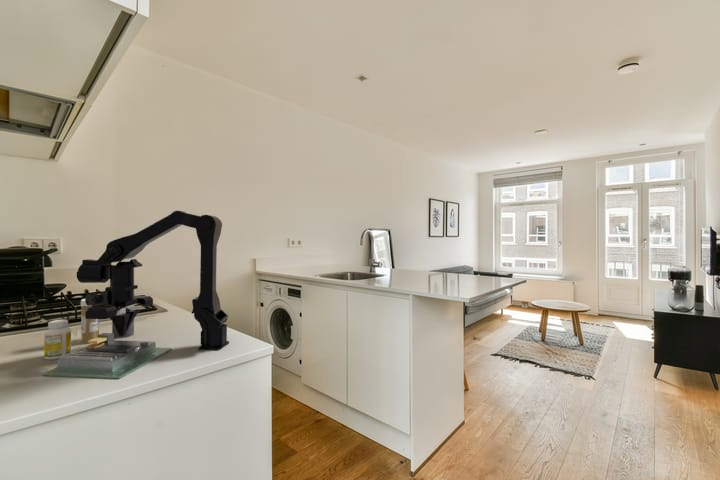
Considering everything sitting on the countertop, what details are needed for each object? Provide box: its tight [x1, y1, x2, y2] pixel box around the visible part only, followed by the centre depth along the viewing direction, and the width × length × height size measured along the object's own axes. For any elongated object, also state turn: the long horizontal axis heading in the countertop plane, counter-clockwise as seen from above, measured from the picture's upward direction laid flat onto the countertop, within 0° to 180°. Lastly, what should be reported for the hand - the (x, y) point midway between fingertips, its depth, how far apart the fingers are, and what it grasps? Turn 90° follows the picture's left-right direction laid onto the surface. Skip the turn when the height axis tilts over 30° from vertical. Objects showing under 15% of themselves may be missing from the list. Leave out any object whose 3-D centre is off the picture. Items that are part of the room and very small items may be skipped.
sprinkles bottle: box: [80, 298, 100, 345], centre depth 101 cm, size 5×5×14 cm
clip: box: [87, 332, 115, 345], centre depth 87 cm, size 3×5×3 cm, turn 177°
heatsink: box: [43, 339, 173, 380], centre depth 85 cm, size 19×19×4 cm
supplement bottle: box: [43, 319, 72, 360], centre depth 89 cm, size 5×5×10 cm
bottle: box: [111, 307, 135, 339], centre depth 107 cm, size 6×6×15 cm
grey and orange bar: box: [85, 343, 144, 352], centre depth 85 cm, size 13×3×1 cm, turn 87°
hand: (122, 335), depth 95 cm, fingers closed
